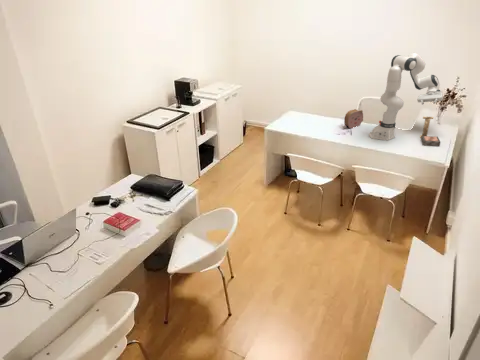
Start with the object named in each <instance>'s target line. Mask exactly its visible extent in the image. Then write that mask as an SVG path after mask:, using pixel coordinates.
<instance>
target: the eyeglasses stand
mask: <svg viewBox="0 0 480 360" xmlns="http://www.w3.org/2000/svg"><path fill="white" fill-rule="evenodd" d="M422 119H424V124H423V129H422V134H421V135H419V138H420V139H421V137H422V136H428V132H429V127H430V122H431V120H434V116H422Z"/></svg>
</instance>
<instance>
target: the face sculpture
mask: <svg viewBox="0 0 480 360" xmlns="http://www.w3.org/2000/svg"><path fill="white" fill-rule="evenodd" d="M363 112H364V111H363V110H362V109H360V110H358V109H356V108H355V109H351V110H349V111H347V112H346V114H345V115H344V120H343V121H344V122H343V123H344V126H345V127H347V126H348V127H347V128H349V129H354V128H357V127H359V126H360V125H361V124H362V122H363V121H364V113H363ZM356 126H357V127H356ZM353 127H354V128H353Z"/></svg>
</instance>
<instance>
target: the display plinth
mask: <svg viewBox="0 0 480 360" xmlns="http://www.w3.org/2000/svg"><path fill="white" fill-rule="evenodd" d="M420 142H421V144H422V146H423V145H424V146H425V147H440V146H441V140H440V138H439V137H438V136H436V135H435V136H433V135H432V136H431V135H427V136H422V137H421V138H420Z"/></svg>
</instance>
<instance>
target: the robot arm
mask: <svg viewBox="0 0 480 360" xmlns="http://www.w3.org/2000/svg"><path fill="white" fill-rule="evenodd" d="M425 68H426V63H425V60H424V59H423V58H422V56H420V54H418V53H417V52H411V53H409V55H399V54H397V55H395V56H393V57H392V59H391V63H390V68H389V70H388V73H387V78H386V87H385V90H384V93H382V94H381V95H380V102H381V103H382V105H384V106H386V111H385V112H383V114H382V120H379V121H378V123H379V124H378V125H377V126H375V127H374V128H372V130H371V131H370V132H369V133H368V136H369V137H368V138H370V139H371V140H372V139H374V140H382V141H383V140H384V141H390V140H393V139H394V138H396V137H395V136H396V134H395V129H396V125H397V124H396V120H397V115H398V112H399V111H400V110H401V109H402V108H403V107H404V103H405V102H404V101H403V99H402V98H401V97H399V96H397V92H398V91H399V90H400V89H401V84H402V72H403V71H407V72H409V74H410V77H411V79H412V82H413V84H414V87H415V89H416V90H418V91H421V90H422V89H423V90H424V89H425V88H427V90H426V93H425V94H420V95H418V97H417V103H421V105H423V106H424V104H425V103H431V102H432V103H433V104H436V103H437V102H441V101H443V99H444V96H443V90H442V89H440V85H441V84H440V81H439V79H438V77H437V76H436V75H434V74H429V75H427V76H424V77H418V75H419V74H420V73H422V72H423V71H424V70H425Z"/></svg>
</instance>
